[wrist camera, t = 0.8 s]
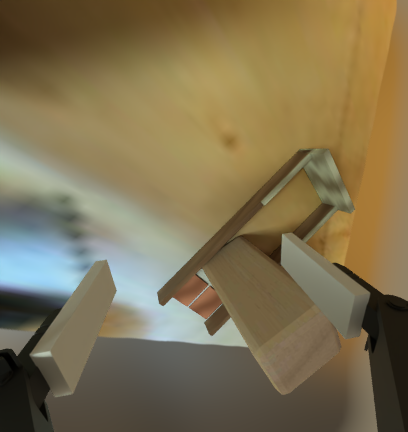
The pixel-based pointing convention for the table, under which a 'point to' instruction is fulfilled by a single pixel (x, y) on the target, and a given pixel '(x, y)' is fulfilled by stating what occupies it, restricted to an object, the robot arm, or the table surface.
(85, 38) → the table surface
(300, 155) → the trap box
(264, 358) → the wooden block
